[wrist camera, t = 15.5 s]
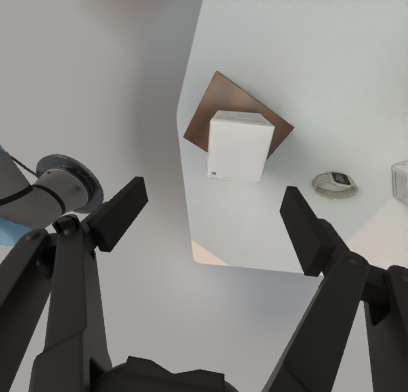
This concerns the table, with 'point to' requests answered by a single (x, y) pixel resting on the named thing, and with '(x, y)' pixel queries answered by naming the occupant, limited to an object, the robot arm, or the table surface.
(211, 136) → the white packaging box
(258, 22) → the table surface
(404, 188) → the supplement box
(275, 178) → the table surface
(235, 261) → the table surface
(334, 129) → the table surface
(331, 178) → the wristwatch
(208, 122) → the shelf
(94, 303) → the robot arm
